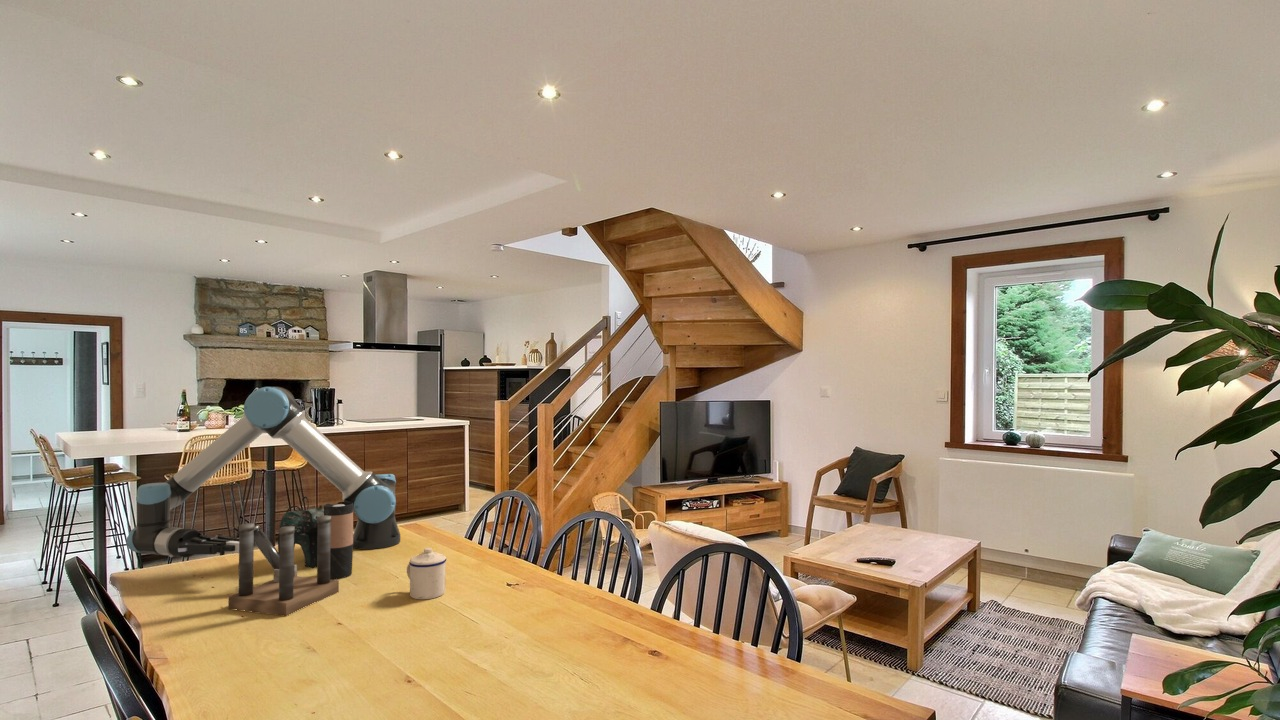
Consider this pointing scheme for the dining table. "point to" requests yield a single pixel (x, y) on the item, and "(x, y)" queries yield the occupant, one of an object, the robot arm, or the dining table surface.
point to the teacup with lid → (427, 575)
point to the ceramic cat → (304, 531)
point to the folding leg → (266, 547)
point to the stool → (283, 574)
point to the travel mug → (340, 539)
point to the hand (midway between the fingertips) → (247, 548)
